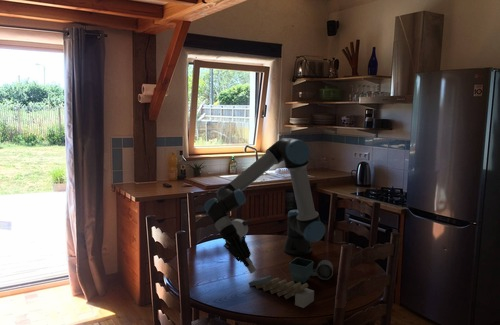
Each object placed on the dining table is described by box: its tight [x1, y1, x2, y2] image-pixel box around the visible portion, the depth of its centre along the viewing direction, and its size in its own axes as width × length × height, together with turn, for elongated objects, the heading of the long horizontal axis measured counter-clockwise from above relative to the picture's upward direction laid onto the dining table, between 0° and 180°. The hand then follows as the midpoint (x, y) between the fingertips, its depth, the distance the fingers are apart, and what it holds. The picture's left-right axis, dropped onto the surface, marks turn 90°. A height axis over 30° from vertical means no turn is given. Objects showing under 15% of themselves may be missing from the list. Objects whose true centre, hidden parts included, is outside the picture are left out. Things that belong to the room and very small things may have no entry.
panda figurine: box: [229, 217, 250, 239], centre depth 235 cm, size 12×11×15 cm
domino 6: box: [283, 282, 309, 300], centre depth 169 cm, size 2×5×10 cm
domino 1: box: [248, 274, 274, 287], centre depth 180 cm, size 2×5×10 cm
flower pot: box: [288, 257, 315, 284], centre depth 187 cm, size 9×9×9 cm
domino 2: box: [254, 277, 281, 290], centre depth 178 cm, size 2×5×10 cm
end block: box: [294, 287, 315, 309], centre depth 166 cm, size 4×8×4 cm, turn 141°
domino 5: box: [276, 282, 303, 298], centre depth 171 cm, size 2×5×10 cm
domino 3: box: [262, 278, 288, 292], centre depth 175 cm, size 2×5×10 cm
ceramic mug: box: [310, 259, 334, 281], centre depth 193 cm, size 11×8×8 cm
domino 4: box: [269, 280, 296, 295], centre depth 173 cm, size 2×5×10 cm
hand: (253, 271), depth 182 cm, fingers closed
